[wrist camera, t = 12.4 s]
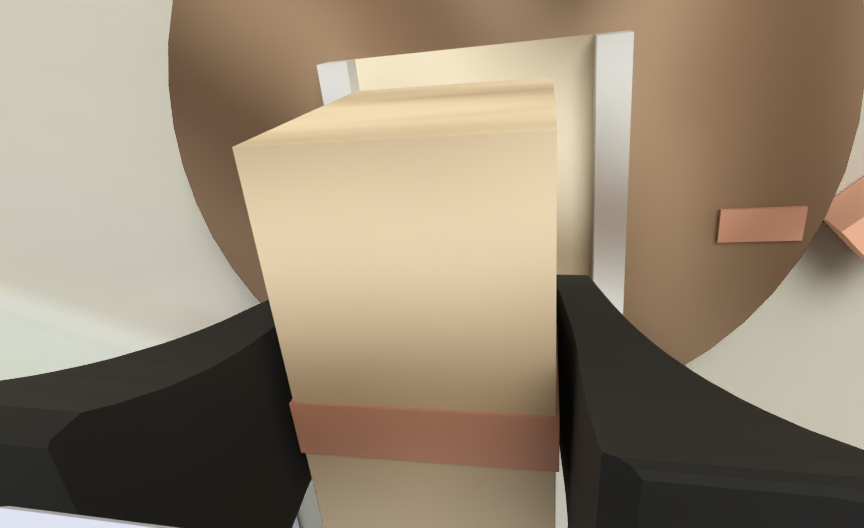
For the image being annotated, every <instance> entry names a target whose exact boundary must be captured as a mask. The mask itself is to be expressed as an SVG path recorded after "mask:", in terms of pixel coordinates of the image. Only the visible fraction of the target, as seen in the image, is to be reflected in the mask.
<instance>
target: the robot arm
mask: <svg viewBox="0 0 864 528" xmlns="http://www.w3.org/2000/svg"><path fill="white" fill-rule="evenodd" d="M556 322H557V347H558V383H559V445H560V453H561V461H562V469H563V476H564V484H565V492H566V503H567V515H568V528H864V450H862V449H860V448H857V447H854V446H851V445H849V444H846V443H843V442H840V441H838V440H835V439H832V438H829V437H827V436H824V435H821V434H818V433H816V432H813V431H810V430H808V429H805V428H803V427H800V426H798V425H796V424H794V423H791V422H789V421H787V420H785V419H782V418H780V417H778V416H776V415H773V414H771V413H769V412H767V411H764V410H762V409H760V408H758V407H756V406H754V405H752V404H750V403H748V402H746V401H744V400H742V399H740V398H738V397H736V396H734V395H733V394H731V393H729V392H727V391H726V390H724V389H722V388H720V387H718V386H717V385H715V384H713V383H711V382H709V381H708V380H706V379H704V378H703V377H701V376H700V375H698V374H696V373H695V372H693V371H692V370H690V369H689V368H687V367H686V366H684V365H683V364H681V363H680V362H679V361H677V360H676V359H674V358H673V357H671V356H670V355H668V354H667V353H666V352H664V351H663V350H662V349H660V348H659V347H658V346H657V345H655V344H654V343H653V342H652V341H651V340H649V339H648V338H647V337H646V336H645V335H644V334H642V333H641V332H640V331H639V330H638V329H637V328H636V327H635V326H633V325H632V324H631V323H630V322H629V321H628V320H627V319H626V318H625V317H624V315H623V314H622V313H621V312H620V311H619V310H618V309H617V308H616V307H615V306H614V305H613V304H612V303H611V302H610V300H609V299H608V298H607V297H606V296H605V295H604V293H603V292H602V291H601V290H600V289H599V287H598V286H597V285H596V284H595V282H594V281H593V280H592V279H591V278H590V277H589V276H588V275H558V274H556ZM291 400H292V394H291V389H290V385H289V381H288V377H287V373H286V369H285V365H284V360H283V356H282V352H281V348H280V344H279V340H278V335H277V331H276V327H275V323H274V319H273V315H272V311H271V306H270V302H269V299H268V300H266V301H264V302H262V303H260V304H258V305H256V306H254V307H252V308H250V309H247V310H245V311H243V312H241V313H239V314H237V315H234V316H232V317H230V318H228V319H226V320H224V321H222V322H219V323H217V324H214V325H212V326H210V327H207V328H205V329H202V330H200V331H197V332H194V333H192V334H189V335H186V336H183V337H181V338H178V339H175V340H172V341H169V342H166V343H163V344H160V345H157V346H153V347H150V348H146V349H143V350H140V351H136V352H133V353H129V354H126V355H123V356H119V357H116V358H112V359H108V360H104V361H100V362H96V363H92V364H87V365H83V366H79V367H74V368H69V369H64V370H60V371H55V372H50V373H45V374H39V375H34V376H28V377H22V378H15V379H9V380H2V381H0V528H300V527H299V523H298V519H297V514H298V511H299V509H300V506H301V503H302V501H303V498H304V495H305V493H306V490H307V488H308V486H309V483H310V481H311V479H312V477H311V472H310V468H309V464H308V460H307V456H306V453H301V450H300V446H299V442H298V438H297V433H296V429H295V425H294V421H293V417H292V413H291V409H290V405H289V403H290V401H291Z"/></svg>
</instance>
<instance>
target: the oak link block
mask: <svg viewBox="0 0 864 528" xmlns="http://www.w3.org/2000/svg"><path fill="white" fill-rule="evenodd" d="M232 149H233V153H234V157H235V161H236V165H237V169H238V174H239V178H240V182H241V186H242V190H243V194H244V199H245V203H246V207H247V211H248V215H249V219H250V223H251V228H252V232H253V236H254V240H255V244H256V248H257V252H258V257H259V261H260V265H261V269H262V273H263V277H264V282H265V286H266V290H267V294H268V298H269V302H270V306H271V311H272V315H273V319H274V323H275V327H276V331H277V335H278V340H279V344H280V348H281V352H282V356H283V360H284V365H285V369H286V373H287V377H288V381H289V385H290V389H291V394H292V400H291V401H290V403H289V405H290V409H291V413H292V417H293V421H294V425H295V429H296V433H297V438H298V442H299V446H300V450H301V453H306V456H307V460H308V464H309V468H310V472H311V477H312V481H313V485H314V489H315V493H316V497H317V501H318V506H319V510H320V514H321V518H322V522H323V526H324V528H555V479H556V472H559V383H558V347H557V322H556V266H557V122H556V108H555V94H554V80H553V77H546V78H532V79H518V80H504V81H490V82H476V83H462V84H448V85H434V86H420V87H406V88H392V89H378V90H364V91H355V92H352V93H350V94H348V95H346V96H344V97H341V98H339V99H337V100H335V101H333V102H330V103H328V104H326V105H324V106H322V107H319V108H317V109H315V110H313V111H311V112H308V113H306V114H304V115H302V116H300V117H297V118H295V119H293V120H291V121H288V122H286V123H284V124H282V125H280V126H277V127H275V128H273V129H271V130H269V131H266V132H264V133H262V134H260V135H258V136H255V137H253V138H251V139H249V140H247V141H244V142H242V143H240V144H238V145H236V146H233V147H232Z"/></svg>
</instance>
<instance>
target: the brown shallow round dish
mask: <svg viewBox="0 0 864 528" xmlns="http://www.w3.org/2000/svg"><path fill="white" fill-rule="evenodd" d="M168 57H169V92H170V100H171V108H172V117H173V125H174V130H175V134H176V138H177V142H178V147H179V151H180V155H181V159H182V163H183V167H184V170H185V173H186V175H187V178H188V181H189V184H190V187H191V189H192V192H193V195H194V198H195V200H196V203H197V205H198V207H199V209H200V211H201V213H202V215H203V217H204V220H205V222H206V224H207V226H208V228H209V230H210V232H211V234H212V236H213V238H214V239H215V241H216V243H217V244H218V246H219V247H220V249H221V251H222V252H223V254H224V255H225V257H226V259H227V260H228V262H229V263H230V265H231V267H232V268H233V269H234V271H235V272H236V273H237V274H238V276H239V277H240V278H241V280H242V281H243V282H244V283H245V285H246V286H247V287H248V289H249V290H250V291H251V292H252V294H253V295H254V296H255V297H256V298H257V299H258V300H259V301H260V302H261V303H262V302H264V301H266V300H268V299H269V298H268V294H267V290H266V286H265V282H264V277H263V273H262V269H261V265H260V261H259V257H258V252H257V248H256V244H255V240H254V236H253V232H252V228H251V223H250V219H249V215H248V211H247V207H246V203H245V199H244V194H243V190H242V186H241V182H240V178H239V174H238V169H237V165H236V161H235V157H234V153H233V149H232V147H233V146H236V145H238V144H240V143H242V142H244V141H247V140H249V139H251V138H253V137H255V136H258V135H260V134H262V133H264V132H266V131H269V130H271V129H273V128H275V127H277V126H280V125H282V124H284V123H286V122H288V121H291V120H293V119H295V118H297V117H300V116H302V115H304V114H306V113H308V112H311V111H313V110H315V109H317V108H319V107H322V106H324V105H326V104H328V103H330V102H333V101H335V100H337V99H339V98H341V97H344V96H346V95H348V94H350V93H352V92H355V91H364V90H378V89H392V88H406V87H420V86H434V85H448V84H462V83H476V82H490V81H504V80H518V79H532V78H546V77H553V80H554V94H555V108H556V122H557V266H556V274H558V275H588V276H589V277H590V278H591V279H592V280H593V281H594V282H595V284H596V285H597V286H598V287H599V289H600V290H601V291H602V292H603V293H604V295H605V296H606V297H607V298H608V299H609V300H610V302H611V303H612V304H613V305H614V306H615V307H616V308H617V309H618V310H619V311H620V312H621V313H622V314H623V315H624V317H625V318H626V319H627V320H628V321H629V322H630V323H631V324H632V325H633V326H635V327H636V328H637V329H638V330H639V331H640V332H641V333H642V334H644V335H645V336H646V337H647V338H648V339H649V340H651V341H652V342H653V343H654V344H655V345H657V346H658V347H659V348H660V349H662V350H663V351H664V352H666V353H667V354H668V355H670V356H671V357H673V358H674V359H676V360H677V361H679V362H680V363H681V364H683V365H685V364H687V363H688V362H690V361H692V360H693V359H695V358H697V357H698V356H700V355H701V354H703V353H705V352H706V351H708V350H709V349H711V348H712V347H713V346H715V345H716V344H717V343H718V342H720V341H721V340H722V339H724V338H725V337H726V336H727V335H729V334H730V333H731V332H732V331H734V330H735V329H736V328H737V327H739V326H740V325H741V324H742V323H744V322H745V321H746V320H747V319H748V318H749V317H750V316H751V315H752V314H753V313H754V312H755V311H756V310H757V309H758V308H759V307H760V306H761V305H762V304H763V302H764V301H765V300H766V299H767V298H768V297H769V296H770V295H771V294H772V293H773V292H774V291H775V290H776V289H777V287H778V286H779V285H780V284H781V282H782V281H783V280H784V278H785V277H786V276H787V275H788V273H789V272H790V271H791V269H792V268H793V267H794V266H795V264H796V263H797V262H798V260H799V259H800V258H801V257H802V255H803V253H804V252H805V250H806V248H807V247H808V245H809V243H810V242H811V240H812V238H813V237H814V235H815V233H816V232H817V230H818V228H819V227H820V225H821V223H822V222H823V220H824V218H825V216H826V215H827V212H828V210H829V208H830V205H831V203H832V201H833V198H834V196H835V194H836V191H837V189H838V187H839V184H840V182H841V180H842V177H843V175H844V173H845V170H846V167H847V163H848V160H849V156H850V153H851V149H852V146H853V142H854V138H855V135H856V131H857V128H858V124H859V120H860V113H861V105H862V98H863V90H864V1H863V0H173V6H172V15H171V24H170V33H169V41H168Z"/></svg>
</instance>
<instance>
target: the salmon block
mask: <svg viewBox="0 0 864 528" xmlns="http://www.w3.org/2000/svg"><path fill="white" fill-rule="evenodd" d="M824 222H825V223H826V224H827V225H828V226H829V227H830V228H831V229H832V230H833V231H834V232H835V233H836V234H837V235H838V236H839V237H840V238H841V239H842V241H843V242H844V243H845V244H846V245H847V246H848V247H849V248H850V249H851V250H852V251H853V252H854V253H855V254H856V255H857V256H859V257H860V258H861V259H862V260H864V177H862V178H861V179H860V180H858V181H857V182H855V183H854V184H852V185H851V186H850V187H848V188H847V189H845V190H844V191H843V192H841V193H840V194H838V195H837V196H836V197H834V198H833V201H832V203H831V205H830V208H829V210H828V212H827V215H826V216H825V218H824Z"/></svg>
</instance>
